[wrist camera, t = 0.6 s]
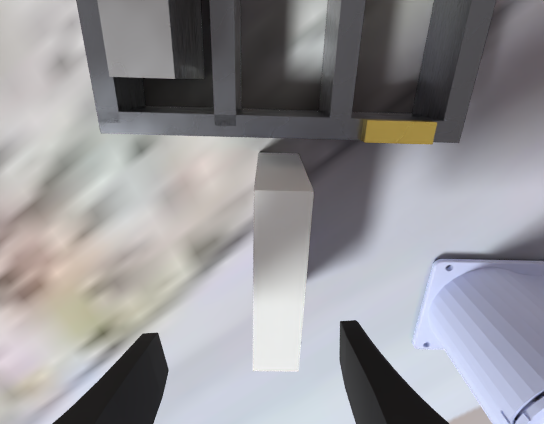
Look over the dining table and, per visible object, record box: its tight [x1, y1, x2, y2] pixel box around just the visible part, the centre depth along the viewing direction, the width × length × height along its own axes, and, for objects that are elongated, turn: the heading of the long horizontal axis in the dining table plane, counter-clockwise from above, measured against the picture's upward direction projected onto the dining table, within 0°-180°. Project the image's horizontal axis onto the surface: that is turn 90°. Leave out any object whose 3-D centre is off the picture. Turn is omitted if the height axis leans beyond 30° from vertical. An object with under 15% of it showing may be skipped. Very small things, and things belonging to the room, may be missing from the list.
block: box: [253, 152, 314, 372], centre depth 18 cm, size 2×10×7 cm, turn 178°
